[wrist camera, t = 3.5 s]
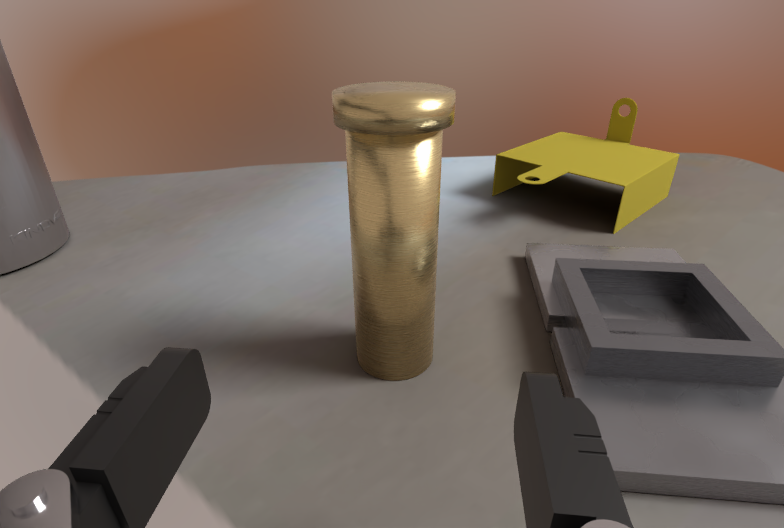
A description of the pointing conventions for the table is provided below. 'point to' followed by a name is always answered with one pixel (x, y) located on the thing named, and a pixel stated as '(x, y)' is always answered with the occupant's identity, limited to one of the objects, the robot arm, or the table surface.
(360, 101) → the hinge pin
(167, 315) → the table surface
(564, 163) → the bracket
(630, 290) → the grey socket base plate
